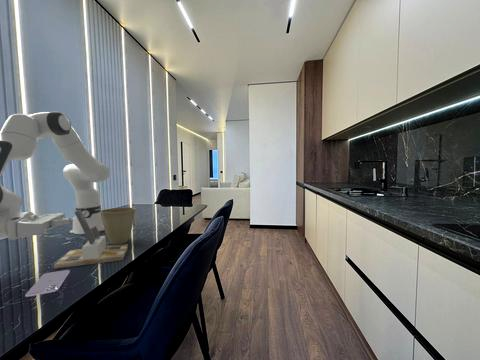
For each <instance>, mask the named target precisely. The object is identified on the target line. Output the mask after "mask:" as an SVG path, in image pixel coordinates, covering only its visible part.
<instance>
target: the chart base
mask: <svg viewBox="0 0 480 360" xmlns="http://www.w3.org/2000/svg"><path fill="white" fill-rule="evenodd" d="M128 248H129V244H128V243H124V244H118V245H108V246H107V245H106V248H105V249H104V251H103V252H102V254H101V255H100V256H99V258H97V259H88V260H83V256H82V248H81V249H79V248H78V249H71V250H69V251H68V252H67V253H66V254H64V255H63V256H62V257H61V258H59V259H58V260H57V261H56V263H54V265H53V267H54V269H55V270H56V269H60V268H61V269H63V268H70V267H77V266H87V265H93V264H95V265H96V264H103V263H109V262H117V261H118V262H119V261H123V260H124V257H125V256H126V253H127V251H128Z"/></svg>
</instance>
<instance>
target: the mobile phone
mask: <svg viewBox="0 0 480 360" xmlns="http://www.w3.org/2000/svg"><path fill="white" fill-rule="evenodd" d="M69 274H70V269H65V270H58V271H57V270H56V271H50V272H47V273H43V274H42V275H41V276H40V277H39V278H38V279H37V281H36V282H35V283H34V284H33V285H32V287H30V288H29V290H28V291H27V292H26V293H25V296H24V297H27V298H29V297H33V296H34V297H35V296H38V295H44V294H45V295H46V294H50V293H54V292H56V291H58V290H59V289H60V287H62V284H63V283H64V281H65V280H66V278H67V277H68V275H69Z"/></svg>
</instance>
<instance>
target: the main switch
mask: <svg viewBox="0 0 480 360" xmlns="http://www.w3.org/2000/svg"><path fill="white" fill-rule="evenodd" d="M74 215H75V216H77V218H78V220H79V222H80V224H81V226H82V228H83V230H84V232H85V234H84V235H85V236H86V238H87V242H88V241H89V244H93V242H94V241H95V240H96V239H95V238H94V235H93V233H92V232H91V230H90V228H89V226H88V224H87V221H86V219H85V217H84V215H83V213H82V211H81V210H78V211H76V212H75V211H74Z"/></svg>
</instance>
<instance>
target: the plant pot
mask: <svg viewBox="0 0 480 360" xmlns="http://www.w3.org/2000/svg"><path fill="white" fill-rule="evenodd" d="M100 213H101V218H102V223H103V226H104V229H105V230H104V233H105V236H106V238H107V239H108V241H109V243H110V245H112V246H115V245H124V244H127V242H128V241H129V238H130V236H131V233H132V229H133V225H134V222H135V221H134V219H135V215H136V208H135V207H123V206H122V207H112V208H106V209H101V211H100Z"/></svg>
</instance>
